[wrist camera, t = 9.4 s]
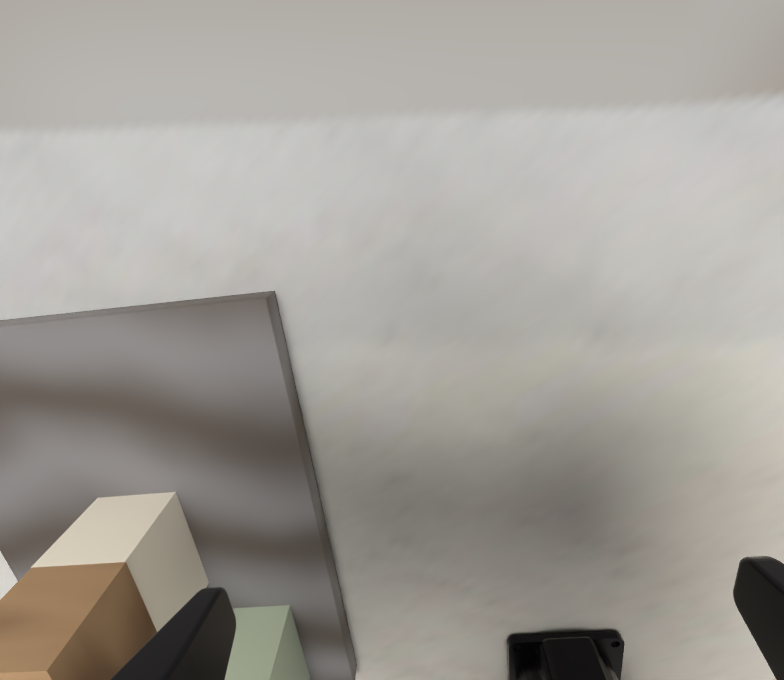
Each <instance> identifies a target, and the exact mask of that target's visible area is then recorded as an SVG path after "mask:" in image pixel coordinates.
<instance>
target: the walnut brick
mask: <svg viewBox="0 0 784 680" xmlns="http://www.w3.org/2000/svg"><path fill="white" fill-rule="evenodd" d="M156 633H157V630H156V628H155V626H154V624H153V621H152V619H151V617H150V615H149V613H148V610H147V608H146V606H145V604H144V601H143V599H142V597H141V595H140V592H139V590H138V588H137V586H136V583H135V581H134V579H133V577H132V574H131V572H130V570H129V568H128V565H127V563H126V562H115V563H99V564H82V565H66V566H49V567H33V568H31V569H30V570H29V571H28V572H27V573H26V574H25V575H24V576H23V577H22V578H21V579H20V580H19V581H18V582H17V583H16V584H15V585H14V586H13V587H12V588H11V590H10V591H9V592H8V593H7V594H6V595H5V596H4V597H3V598H2V599H1V600H0V680H110V679H111V678H112V677H113V676H114V675H115V674H116V673H117V672H118V671H119V670H120V669H121V668H122V667H123V666H124V665H125V664H126V663H127V662H128V661H129V660H130V659H131V658H132V657H133V656H134V655H135V654H136V653H137V652H138V651H139V650H140V649H141V648H142V647H143V646H144V645H145V644H146V643H147V642H148V641H149V640H150V639H151V638H152V637H153V636H154V635H155V634H156Z"/></svg>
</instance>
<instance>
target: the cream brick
mask: <svg viewBox="0 0 784 680" xmlns="http://www.w3.org/2000/svg"><path fill="white" fill-rule="evenodd" d="M115 562H126V563H127V565H128V568H129V570H130V572H131V574H132V577H133V579H134V581H135V583H136V586H137V588H138V590H139V592H140V595H141V597H142V599H143V601H144V604H145V606H146V608H147V610H148V613H149V615H150V617H151V619H152V621H153V624H154V626H155V628H156V630H157V632H158V631H159V630H160V629H161V628H162V627H163V626H164V625H165V624H166V623H167V622H168V621H169V620H170V619H171V618H172V617H173V616H174V615H175V614H176V613H177V612H178V611H179V610H180V609H181V608H182V607H183V606H184V605H185V604H186V603H187V602H188V601H189V600H190V599H191V598H192V597H193V596H194V595H195V594H196V593H197V592H198V591H200V590H201V589H204V588H206V587H207V585H208V583H209V581H208V579H207V576H206V573H205V570H204V568H203V565H202V562H201V559H200V557H199V554H198V551H197V548H196V546H195V543H194V540H193V538H192V535H191V532H190V529H189V527H188V524H187V521H186V518H185V516H184V513H183V510H182V507H181V505H180V502H179V499H178V497H177V494H176V492H168V493H155V494H141V495H128V496H115V497H101V498H97V499H96V500H95V501H94V502H93V503H92V504H91V505H90V506H89V507H88V508H87V509H86V510H85V511H84V513H83V514H82V515H81V516H80V517H79V518H78V519H77V520H76V521H75V522H74V523H73V524H72V525H71V526H70V527H69V528H68V529H67V530H66V531H65V532H64V533H63V534H62V535H61V536H60V538H59V539H58V540H57V541H56V542H55V543H54V544H53V545H52V546H51V547H50V548H49V549H48V550H47V551H46V552H45V553H44V554H43V555H42V556H41V557H40V558H39V559H38V560H37V562H36V563H35V564H34V565H33V566H32V567H31V568H33V567H49V566H66V565H82V564H99V563H115Z"/></svg>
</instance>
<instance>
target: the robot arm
mask: <svg viewBox="0 0 784 680" xmlns="http://www.w3.org/2000/svg"><path fill="white" fill-rule="evenodd" d="M733 595H734V601H735V603H736V606H737V608H738V610H739V612H740V614H741V616H742V617H743V619H744V621H745V623H746V625H747V627H748V628H749V630H750V632H751V634H752V636H753V637H754V639H755V641H756V643H757V645H758V647H759V648H760V650H761V652H762V654H763V656H764V657H765V659H766V661H767V663H768V665H769V667H770V668H771V670H772V672H773V674H774V676H775V677H776V679H777V680H784V564H783V563H782V562H780V561H778V560H776V559H774V558H772V557H768V556H758V557H745V558H743V559H742V560H741V561H740V563H739V568H738V572H737V576H736V581H735V585H734V590H733ZM235 632H236V617H235V614H234V611H233V608H232V605H231V602H230V599H229V596H228V594H227V591H226V590H225V589H224V588H223V587H214V588H204V589H201V590H200V591H198V592H197V593H196V594H195V595H194V596H193V597H192V598H191V599H190V600H189V601H188V602H187V603H186V604H185V605H184V606H183V607H182V608H181V609H180V610H179V611H178V612H177V613H176V614H175V615H174V616H173V617H172V618H171V619H170V620H169V621H168V622H167V623H166V624H165V625H164V626H163V627H162V628H161V629H160V630H159V631H158V632H157V633H156V634H155V635H154V636H153V637H152V638H151V639H150V640H149V641H148V642H147V643H146V644H145V645H144V646H143V647H142V648H141V649H140V650H139V651H138V652H137V653H136V654H135V655H134V656H133V657H132V658H131V659H130V660H129V661H128V662H127V663H126V664H125V665H124V666H123V667H122V668H121V669H120V670H119V671H118V672H117V673H116V674H115V675H114V676H113V677H112V678H111V679H110V680H225V676H226V671H227V667H228V663H229V658H230V654H231V650H232V645H233V641H234V637H235ZM623 652H624V641H623V639H622V637H621V634H620V633H618V632H615V631H609V632H588V633H566V634H545V635H524V636H512V637H510V638H509V639H508V640H507V656H508V680H620V678H621V670H622V661H623Z"/></svg>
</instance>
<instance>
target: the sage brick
mask: <svg viewBox="0 0 784 680" xmlns="http://www.w3.org/2000/svg"><path fill="white" fill-rule="evenodd" d="M233 611H234V614H235V617H236V632H235V637H234V641H233V645H232V650H231V654H230V658H229V663H228V667H227V671H226V676H225V680H310V675H309V672H308V668H307V665H306V661H305V657H304V654H303V650H302V647H301V643H300V640H299V636H298V633H297V629H296V626H295V622H294V618H293V615H292V611H291V608H290V605H284V606H265V607H247V608H233Z"/></svg>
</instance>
